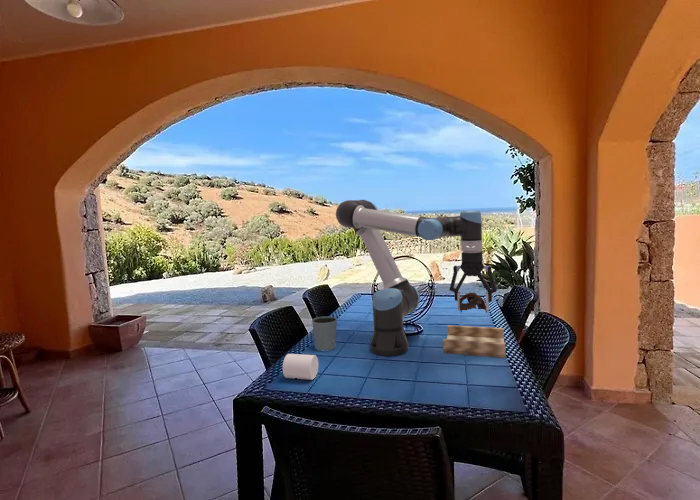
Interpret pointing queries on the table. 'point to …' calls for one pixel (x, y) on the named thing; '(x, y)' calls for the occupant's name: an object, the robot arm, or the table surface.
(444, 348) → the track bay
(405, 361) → the table surface
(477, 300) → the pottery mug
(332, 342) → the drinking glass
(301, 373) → the white cylinder
